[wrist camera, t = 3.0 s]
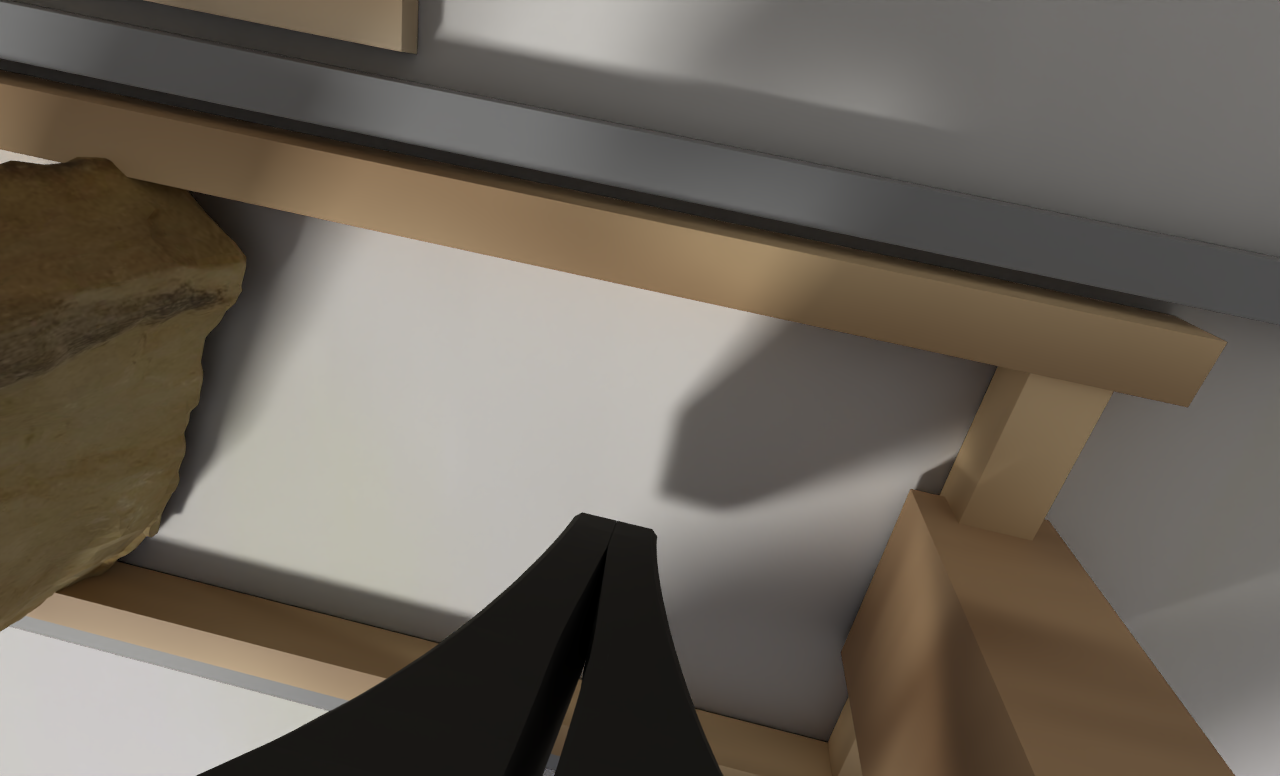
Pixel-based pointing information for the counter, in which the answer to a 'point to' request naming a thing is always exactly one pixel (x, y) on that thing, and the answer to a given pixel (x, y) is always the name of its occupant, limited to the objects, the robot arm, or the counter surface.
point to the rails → (631, 164)
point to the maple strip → (325, 18)
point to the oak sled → (772, 286)
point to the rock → (96, 363)
